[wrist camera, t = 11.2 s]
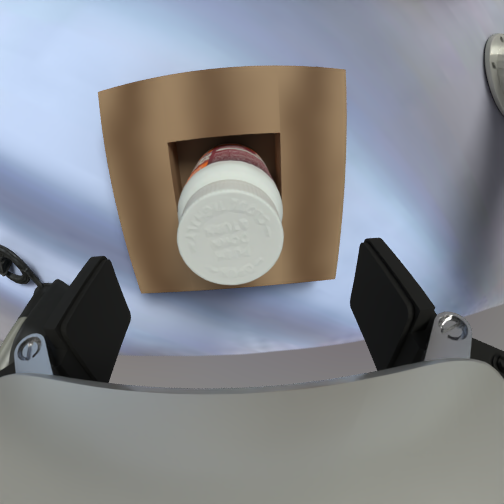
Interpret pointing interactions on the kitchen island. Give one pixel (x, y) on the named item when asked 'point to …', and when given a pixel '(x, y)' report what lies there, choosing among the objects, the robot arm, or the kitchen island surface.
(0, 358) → the milk frother
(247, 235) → the pill bottle
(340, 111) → the socket block
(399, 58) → the kitchen island surface
